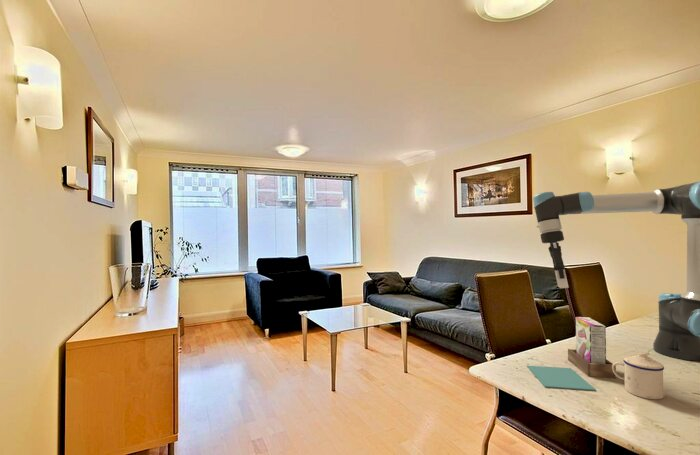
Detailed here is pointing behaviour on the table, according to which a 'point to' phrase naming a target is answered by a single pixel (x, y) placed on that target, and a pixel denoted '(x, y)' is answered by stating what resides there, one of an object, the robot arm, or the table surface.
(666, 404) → the table surface
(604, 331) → the candy bar box
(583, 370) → the walnut sleeve
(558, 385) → the rubber mat
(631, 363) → the teacup with lid
